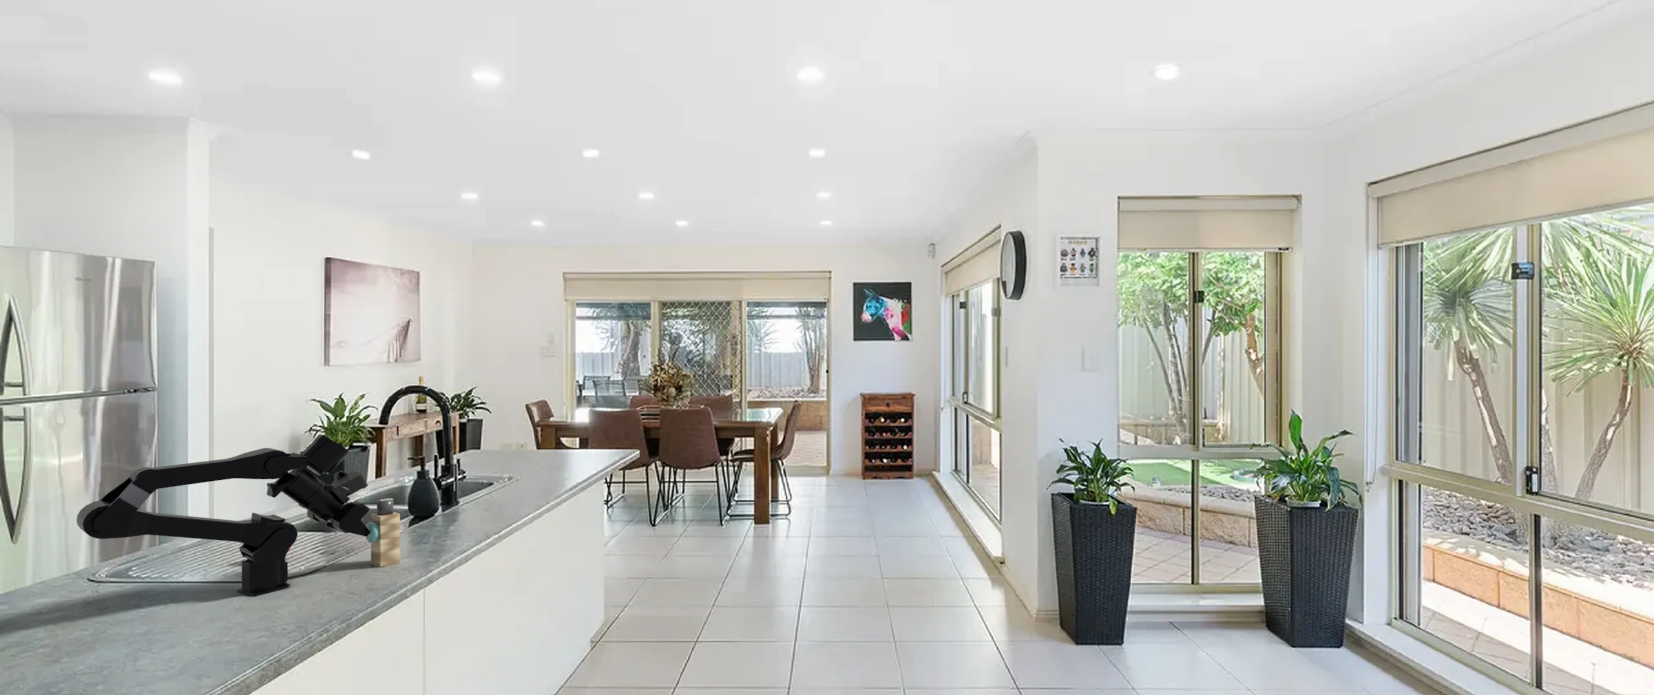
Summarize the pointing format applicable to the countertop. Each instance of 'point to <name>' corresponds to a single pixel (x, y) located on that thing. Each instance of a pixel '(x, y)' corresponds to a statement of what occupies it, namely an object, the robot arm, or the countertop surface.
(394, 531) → the mount
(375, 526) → the knob
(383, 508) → the dial
